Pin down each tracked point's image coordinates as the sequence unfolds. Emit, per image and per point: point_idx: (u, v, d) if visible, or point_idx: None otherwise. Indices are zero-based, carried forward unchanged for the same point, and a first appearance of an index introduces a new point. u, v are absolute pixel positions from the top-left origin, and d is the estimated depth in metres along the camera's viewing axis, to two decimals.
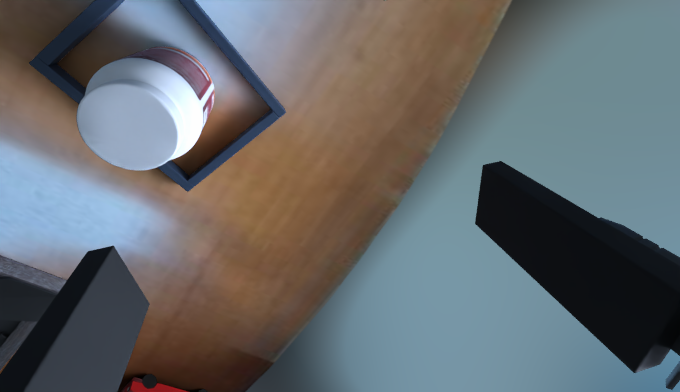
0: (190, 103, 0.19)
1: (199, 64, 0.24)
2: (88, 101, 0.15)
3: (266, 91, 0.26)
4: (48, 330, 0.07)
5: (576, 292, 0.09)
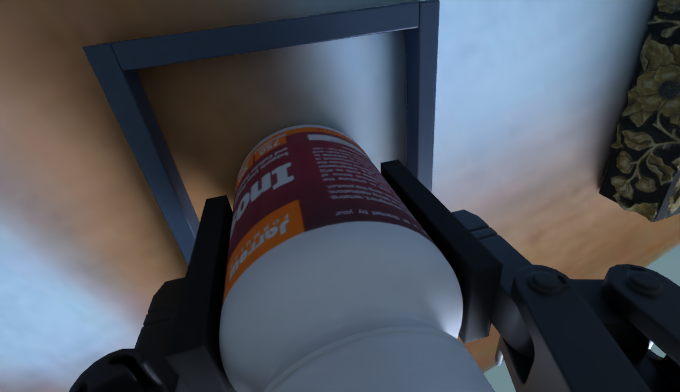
0: None
1: None
2: None
3: None
4: (207, 246, 0.09)
5: None
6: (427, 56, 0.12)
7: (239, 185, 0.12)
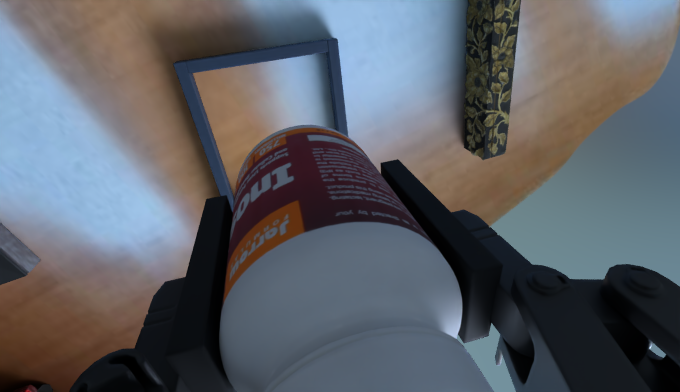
0: None
1: None
2: None
3: None
4: (207, 246, 0.09)
5: None
6: (334, 65, 0.24)
7: (239, 185, 0.12)
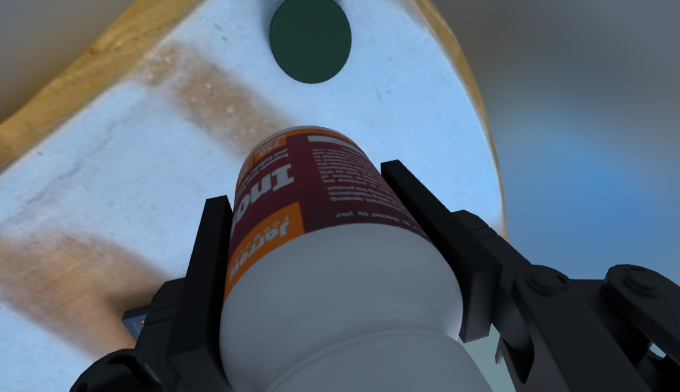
0: None
1: None
2: None
3: None
4: (207, 246, 0.09)
5: None
6: None
7: (239, 186, 0.12)
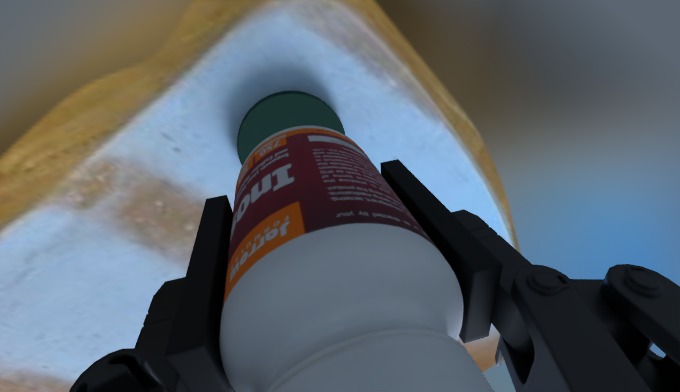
0: None
1: None
2: None
3: None
4: (207, 246, 0.09)
5: None
6: None
7: (239, 186, 0.12)
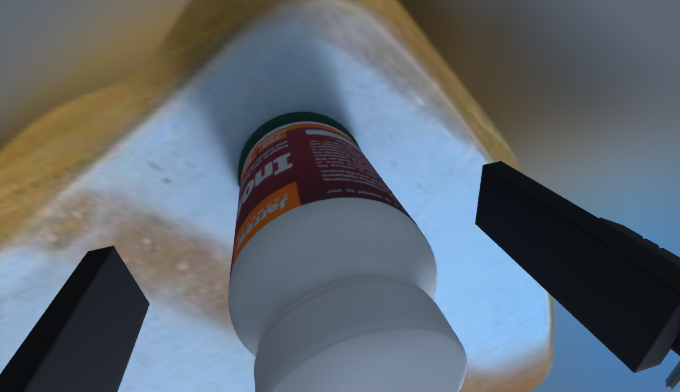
0: None
1: None
2: (347, 346, 0.06)
3: None
4: (48, 330, 0.07)
5: (576, 292, 0.09)
6: None
7: (244, 175, 0.13)
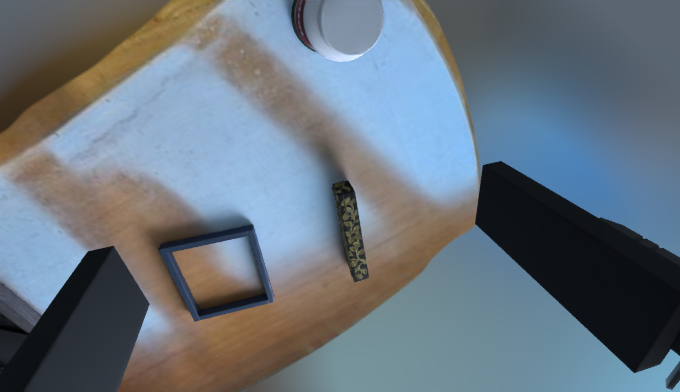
0: None
1: None
2: None
3: (270, 291, 0.46)
4: (48, 330, 0.07)
5: (576, 291, 0.09)
6: (253, 241, 0.41)
7: None
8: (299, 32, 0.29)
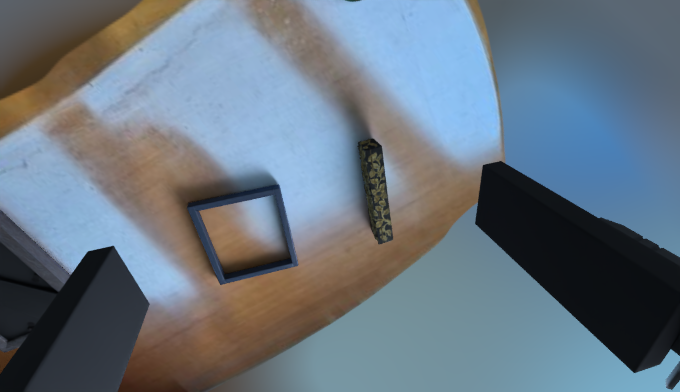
0: None
1: None
2: None
3: (294, 254, 0.47)
4: (48, 330, 0.07)
5: (576, 292, 0.09)
6: (279, 200, 0.42)
7: None
8: None
